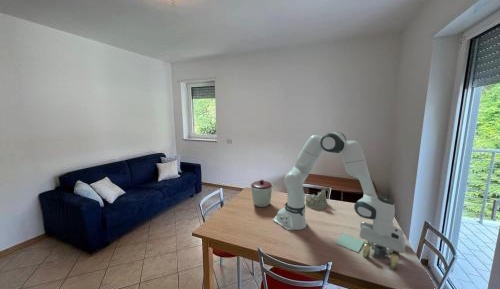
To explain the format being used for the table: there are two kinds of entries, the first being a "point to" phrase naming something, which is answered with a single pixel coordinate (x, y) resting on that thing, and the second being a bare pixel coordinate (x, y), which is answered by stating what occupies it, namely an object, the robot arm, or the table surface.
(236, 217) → the table surface
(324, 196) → the jagged green rock
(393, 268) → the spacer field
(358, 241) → the mat
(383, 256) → the hex nut
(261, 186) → the canister
